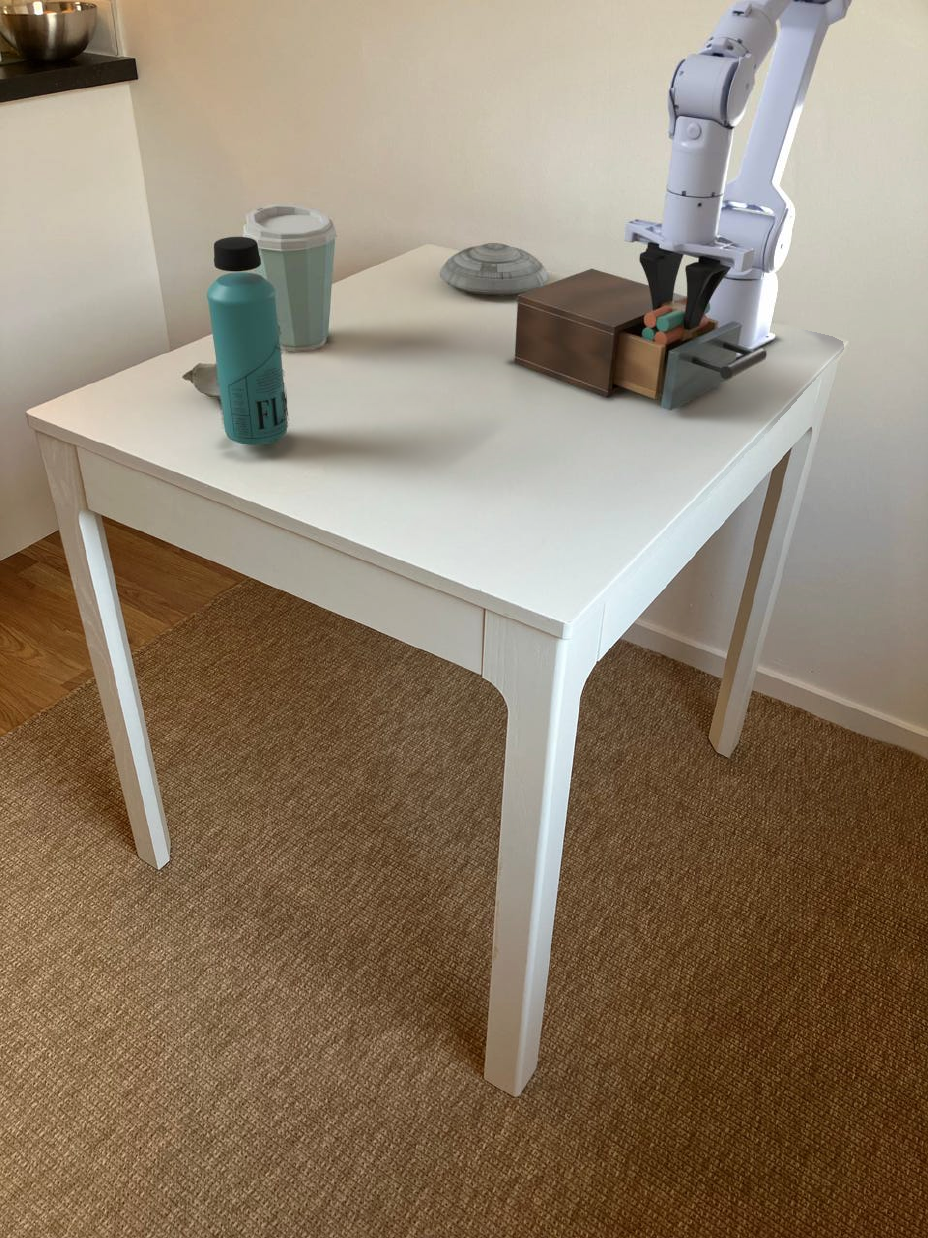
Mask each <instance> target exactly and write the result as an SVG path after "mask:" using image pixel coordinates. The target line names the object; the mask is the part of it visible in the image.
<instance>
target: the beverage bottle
mask: <svg viewBox="0 0 928 1238" xmlns="http://www.w3.org/2000/svg"><path fill="white" fill-rule="evenodd" d="M213 255H214V256H213V264H214V267H215V268H216V269H218V270H220V271H224V272H230V273H226V274H223V275H220V276H219V277H218V278H217V279H215V280H214V281H213V282H212V284H211V285H210V286H209V288H208V289H207V291H206V299H207V303H208V309H209V317H210V325H211V333H212V339H213V347H214V356H215V363H214V364H215V365H216V364H217V375H218V382H219V389H218V391H219V390H220V397H219V398H218V400H220V402H219V409H220V410H219V411H220V415H221V416H220V417H221V422H222V424H223V429H224V432H225V434H226V436H227V438H228V439H229V440H231V441H233V442H234V443H237V444H241V445H246V446H259V445H260V446H261V445H266V444H270V443H274V442H277V441H279V440H281V439H282V438H284V436H285V435H286V434H287V431H288V427H289V425H290V424H289V422H290V418H289V411H288V396H287V390H285V389H286V387H287V385H285V383H286V382H285V381H284V377H285V370H284V369H283V360H282V354H283V353H284V352H283V351H284V350H282V349H281V348H280V346H281V345H282V344H281V345H280V337H279V336H280V335H279V333H280V332H279V330H281V329H280V326H278V319H277V309H276V300H275V295H276V291H275V288H274V287H273V285H272V284H271V283H269V282H268V281H267V280H266V279H265V278H263V277H262V276H260V275H258V274H255V272H254V273H253V272H248V271H251V270H254V269H255V268H257V267H259V266H260V265H261V258H260V255H259V249H258V244H257V241H256V240H254V239H251V238H247V237H243V236H229V237H223V238H220V239H217V240H216V241H215V242H214V243H213ZM278 318H279V317H278ZM279 322H280V321H279ZM280 334H281V333H280ZM281 342H282V341H281ZM281 347H282V346H281ZM215 373H216V372H215ZM218 382H217V383H218ZM217 386H218V385H217ZM218 394H219V393H218ZM220 398H221V399H220Z"/></svg>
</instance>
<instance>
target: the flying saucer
mask: <svg viewBox="0 0 928 1238" xmlns="http://www.w3.org/2000/svg"><path fill="white" fill-rule="evenodd" d="M439 276H440V278H441V279H442V281H444V282H445V283H446V284H448V285H449V286H451V287H453V288H455V289H458V290H461V291H464V292H468V293H472V294H473V293H474V294H478V295H489V296H504V295H505V296H508V295H517V294H522V293H525V292H528V291H531V290H533V289H536V288H539V287H542V286H544V285H545V283H546V282H547V281H548V280H549V273H548V271H547V269H546V267H545V266H544V265H543V263H542V262H541V261H540V260H539V259H538V258H537V257H535V256H534V255H532V254H531V253H529V252H527V251H526V250H523V249H521V248H518V247H515V246H510V245H508V244H505V243H500V242H499V243H498V242H488V243H483V244H480V245H475V246H471V247H467V248H464V249H462V250H461V251H458V252H456V253H455V254H453V255H452V256H450V257H449V258H448V259H447V260H446V262H445V263H444V264H443V265H442V267H441V268H440V270H439Z"/></svg>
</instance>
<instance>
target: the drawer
mask: <svg viewBox="0 0 928 1238" xmlns="http://www.w3.org/2000/svg"><path fill="white" fill-rule="evenodd" d="M718 323H719V321H716V320H713V319H709V318H708V324H707V326H706V327H705V328H702V329H700V330H698V331H696V332H694V333H692V337H690V338H688V339H686V340H684V341H681V340H676V341H674V342H672V343H670V344H668V345H663V344H659V343H656V342H655V341H650V340H647V339H644V338H643V337H642V331H643V330H644V329H645V328H647V326H646V325H645V323H644V321H643V322H641V323H638V324H636V325H634V326H631V327H629V328H627V329H624V330H622V331H620V332H618V339H617V348H616V357H615V366H614V375H613V384H615V385H618V386H621V387H624V388H626V389H627V390H629V391H632V392H635V393H638V394H640V395H643V396H646V397H649V398H650V399H653V400H656V399H657V398H660V397H661V396H662V399H661V404H660V405H661V407H660V408H662V409H664V410H667V411H673V410H674V409H676V408H678V407H679V406H682V405H683V404H685V403H688V402H689V401H692V400H693V399H695V398H697V397H699V396H700V395H703V394H704V393H706V392H708V391H710V390H712V389H714V388H715V387H718V386H720V385H721V384H723V383H725V382H727V381H729V380H731V379H733V378H734V377H735V376H737V375H739V374H741V373H743V372H745V371H746V370H749V369H750V368H752V367H754V366H756V365H758V364H759V363H762V362H764V361H765V360H766V359H767V357H768V356H767V351H766V350H765V349H764V348H762V347H757V348H755V349H753V350H751V349H748V348H744V347H741V346H738V344H739V338H740V333H741V327H742V324H741V323H737V322H734V321H732V322H730V323H728V324H726V325H724V326H722V327H719V328H718ZM737 353H740V354H743V355H741V356H740V357H738V358H736V355H737ZM626 389H625V390H626Z"/></svg>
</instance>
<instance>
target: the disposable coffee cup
mask: <svg viewBox="0 0 928 1238" xmlns="http://www.w3.org/2000/svg"><path fill="white" fill-rule="evenodd" d="M245 217H246V223H245V224H243V226H242V227H243V233H242V237H247V238H251V239H254V240H256V241H257V244H258V249H259V255H260V258H261V265H260V266H259V267H257V268H255V269H253V270H254V274H258V275H260V276H262V277H263V278H265V279H266V280H267V281H268V282H269V283H271V284H272V285H273V287H274V288H275V291H276V295H275V300H276V309H277V319H278V326H280V329H281V330H279V332H280V333H281V334H280V333H279V335H280V336H279V337H280V345H281V344H282V345H281V346H282V347H281V346H280V348H281V350H282V351H288V352H295V353H297V352H299V353H301V352H310V351H314V350H316V349H319V348H321V347H323V345H324V344H325V343H327V338H328V337H329V332H330V331H329V330H330V329H329V328H330V315H331V302H332V288H333V287H332V286H333V274H334V259H335V246H336V238H337V237H338V235H337V231H336V226H335V225H334V222H333V220H332V219H330V218H329V215H328V214H326V213H324V212H323V211H321V210H318V209H316V208H313V207H308V206H304V205H299V204H289V203H288V204H287V203H286V204H284V203H273V204H269V205H265V206H261V207H257V208H255V209H253V210H251V211H250V212H248V213H247V214H245ZM278 317H279V318H278ZM279 321H280V322H279ZM281 341H282V342H281Z"/></svg>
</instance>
